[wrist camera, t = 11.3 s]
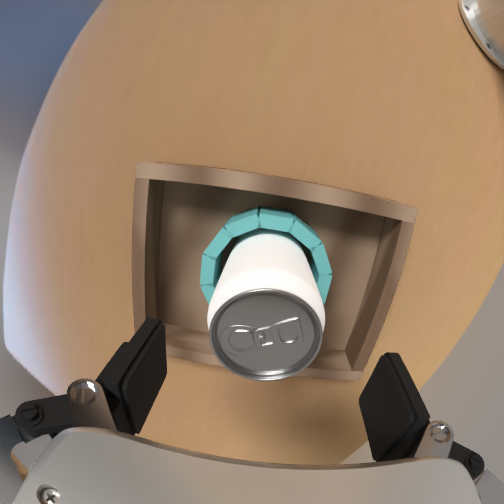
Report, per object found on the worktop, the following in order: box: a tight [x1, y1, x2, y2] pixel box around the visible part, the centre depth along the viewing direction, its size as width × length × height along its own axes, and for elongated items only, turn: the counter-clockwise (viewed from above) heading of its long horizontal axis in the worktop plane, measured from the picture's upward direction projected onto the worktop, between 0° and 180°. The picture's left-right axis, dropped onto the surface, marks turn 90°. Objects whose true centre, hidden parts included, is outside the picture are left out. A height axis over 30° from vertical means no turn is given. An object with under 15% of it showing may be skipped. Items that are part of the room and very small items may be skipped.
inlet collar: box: [200, 206, 332, 304], centre depth 23 cm, size 10×10×4 cm
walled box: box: [132, 162, 418, 380], centre depth 24 cm, size 22×17×4 cm
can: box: [207, 228, 325, 381], centre depth 19 cm, size 6×6×12 cm
